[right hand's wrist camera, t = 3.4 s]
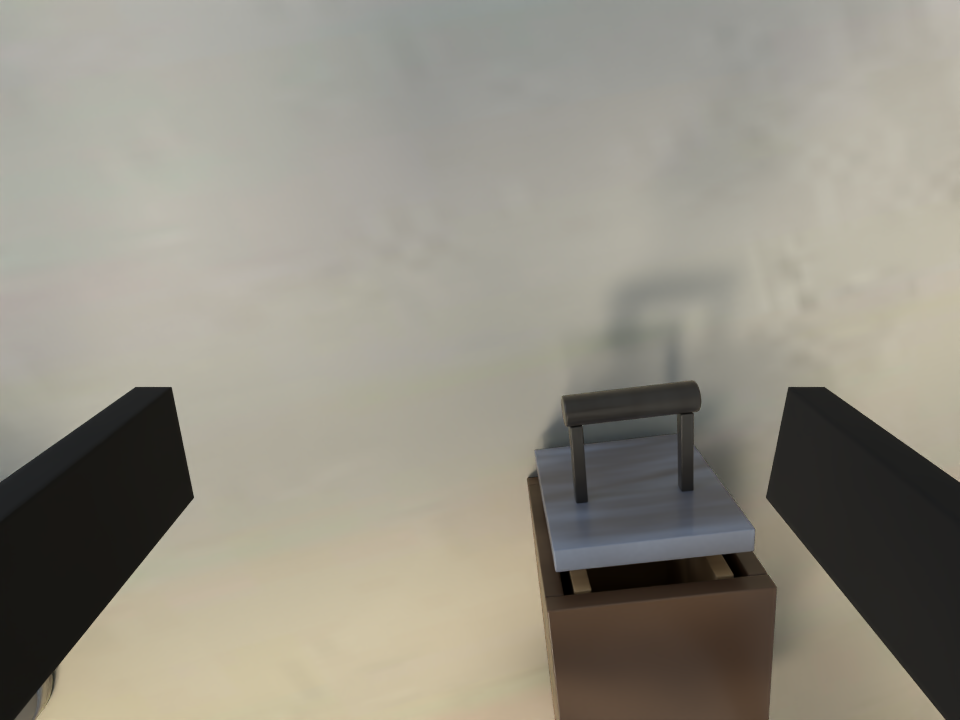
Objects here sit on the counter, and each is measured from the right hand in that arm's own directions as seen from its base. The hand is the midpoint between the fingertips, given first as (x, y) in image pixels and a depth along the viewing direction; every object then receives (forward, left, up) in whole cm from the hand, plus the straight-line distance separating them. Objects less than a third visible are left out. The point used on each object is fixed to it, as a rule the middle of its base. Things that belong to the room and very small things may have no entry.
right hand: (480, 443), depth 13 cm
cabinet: (-14, -19, -19) cm, 31 cm away
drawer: (-10, -16, -18) cm, 26 cm away
